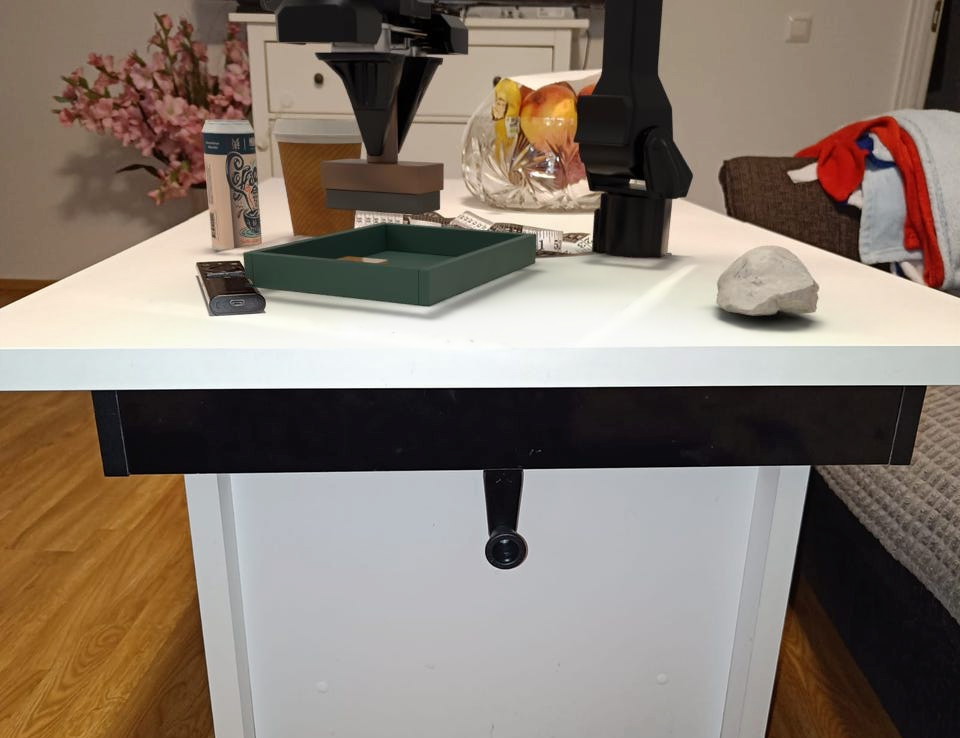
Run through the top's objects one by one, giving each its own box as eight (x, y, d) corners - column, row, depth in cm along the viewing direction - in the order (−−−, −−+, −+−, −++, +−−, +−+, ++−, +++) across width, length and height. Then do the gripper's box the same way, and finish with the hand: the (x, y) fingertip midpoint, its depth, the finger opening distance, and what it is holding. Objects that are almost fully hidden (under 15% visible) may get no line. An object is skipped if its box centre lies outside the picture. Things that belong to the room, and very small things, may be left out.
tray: (535, 271, 84) (536, 233, 83) (428, 317, 65) (428, 270, 64) (383, 257, 89) (382, 222, 88) (245, 296, 71) (242, 252, 70)
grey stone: (846, 322, 66) (858, 251, 65) (768, 334, 62) (779, 259, 61) (755, 300, 73) (763, 235, 71) (679, 310, 69) (686, 242, 67)
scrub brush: (444, 209, 73) (444, 92, 70) (418, 215, 69) (417, 92, 66) (351, 203, 76) (347, 91, 73) (322, 208, 72) (316, 90, 69)
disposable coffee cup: (386, 238, 101) (384, 120, 96) (328, 249, 94) (323, 121, 89) (320, 231, 106) (315, 118, 101) (259, 240, 98) (251, 118, 94)
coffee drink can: (249, 255, 89) (239, 121, 84) (203, 253, 90) (191, 120, 85) (270, 248, 93) (261, 120, 89) (225, 246, 94) (215, 119, 89)
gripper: (348, -56, 76) (354, 146, 82) (198, -98, 60) (220, 156, 66) (472, -62, 72) (469, 151, 78) (347, -109, 56) (356, 163, 62)
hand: (383, 155), depth 71 cm, fingers closed on scrub brush, 2 cm apart
